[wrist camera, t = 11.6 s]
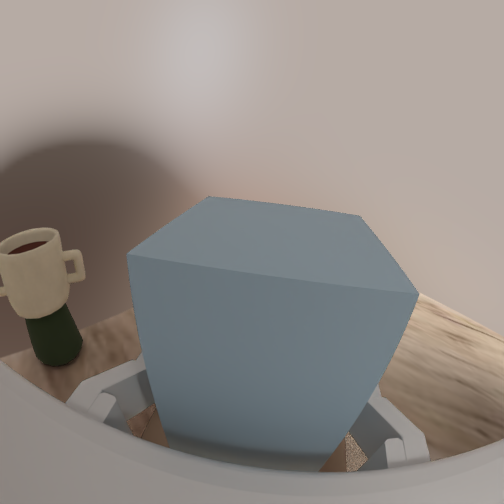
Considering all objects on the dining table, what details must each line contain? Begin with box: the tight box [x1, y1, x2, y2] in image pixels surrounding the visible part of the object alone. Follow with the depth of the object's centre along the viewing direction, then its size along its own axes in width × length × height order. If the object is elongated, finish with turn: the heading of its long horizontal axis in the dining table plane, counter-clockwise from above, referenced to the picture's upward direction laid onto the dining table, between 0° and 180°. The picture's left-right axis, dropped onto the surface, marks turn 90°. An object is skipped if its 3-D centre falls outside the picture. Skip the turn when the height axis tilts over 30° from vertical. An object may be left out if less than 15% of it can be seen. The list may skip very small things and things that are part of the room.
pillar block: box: [127, 196, 419, 472], centre depth 9 cm, size 5×5×12 cm
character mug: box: [0, 228, 86, 366], centre depth 21 cm, size 11×7×13 cm, turn 123°
